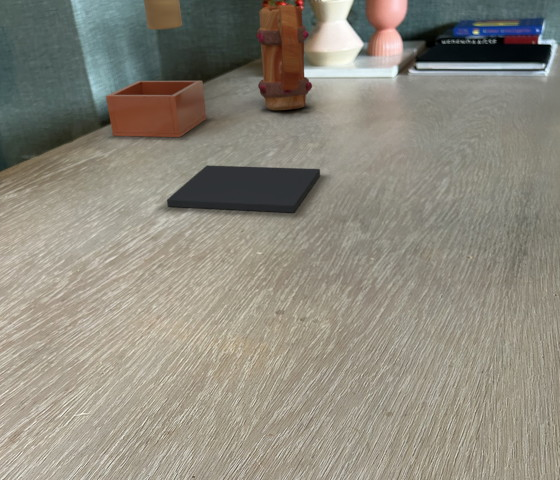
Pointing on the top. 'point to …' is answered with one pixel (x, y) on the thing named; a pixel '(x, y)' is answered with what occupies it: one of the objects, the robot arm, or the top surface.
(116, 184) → the top surface
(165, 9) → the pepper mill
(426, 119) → the top surface
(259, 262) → the top surface
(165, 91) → the terracotta open box
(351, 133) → the top surface
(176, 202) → the mat
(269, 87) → the mug
